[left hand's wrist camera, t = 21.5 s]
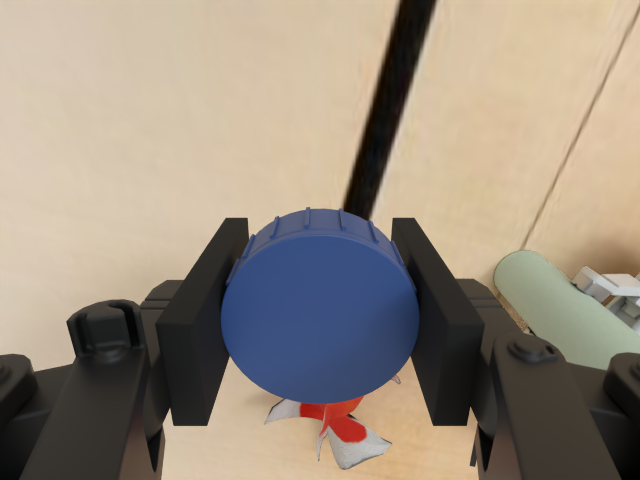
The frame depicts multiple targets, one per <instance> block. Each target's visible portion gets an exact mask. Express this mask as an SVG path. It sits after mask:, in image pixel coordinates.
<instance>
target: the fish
mask: <svg viewBox="0 0 640 480" xmlns="http://www.w3.org/2000/svg"><path fill="white" fill-rule="evenodd" d="M392 380H394V381H395V382H396V383H398V384H400V383H401V382H400V380H399V378H398V377H397V376H396V375H395V376H394V377H393V378H392ZM363 397H364V396H361V397H358V398H355V399H352V400H349V401H344V402H340V403H331V404H310V403H301V402H296V401H291V400H288V399H283V400H282V401H280V402H279V403H278V404H276V405H275V406H273V407H272V409H271V411H270V413H269V415H268V417H267V419H266V421H265V423H264V425H265V424H267V423H268V422H271V421H275V420H278V419H283V418H290V417H308V418H315V419H319V420H321V421H323V424H322V428H321V431H320V433H319V435H318V437H317V454H318V461H319V457H320V448H321V443H322V440H323V439H324V438H325V436H326V435H327V432H328V436H329V440H330V444H331V448H332V451H333V454H334V457H335V460H336V462H337V464H338V466H339V468H341V469H349V468H351V467H353V466H355V465H357V464H359V463H362V462H364V461H366V460H368V459H370V458H373V457H376V456H379V455H382V454H383V453H384V452H385V451H386V450H387V449H388V448H389V447H390V446H391V444H392V443H391V442H389V441H386V440H384V439H382V438H381V437H380V436H378V435H377V434H376V433H374V432H373V431H372V430H370V429H369V428H368V427H366V426H365V425H364V424H362V423H361V422H360V421H358V420H357V419H356V418H354V417H353V416H352V415H350V414H349V413H350V412H352V411H353V410H354V409H355V408H356V407H357V406H358V404H359V403H360V401H361V400H362V398H363Z"/></svg>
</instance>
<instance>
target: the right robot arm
mask: <svg viewBox="0 0 640 480" xmlns="http://www.w3.org/2000/svg"><path fill="white" fill-rule="evenodd" d="M570 282H571V283H573V284H574V285H576V286H577V288H579V289H580V290H581V291H583V292H584V293H586V294H587V295H589V296H592V297H593V298H594V299H596V300H597V301H598V302H600V303H603V302H604V301H605V300H606V299H607V298H608V297H609V296H610V295H617V296H616V297H615V298H614V299H613V300H612V301H611V302H610V303H609V304H608V305H607V306H606V307H605V308H607V309H608V310H609V311H610V312H612V313H613V314H614V315H615V316H616V317H618V318H619V319H620V320H621V321H623V322H624V323H625V324H626V325H628V326H629V327H630V328H631V329H632V330H634V331H635V332H636V333H637V334H639V335H640V273H639V274H638V275H637V276H636V277H635V278H634V277H632V276H631V275H629V274H602V275H599V274H598V273H596V272H595V271H593V270H591V269H590V268H588V267H587V266H584V267H583V268H582V269H581V270H580V271H579V272H578V273H577V275H576V276H575V277H574V278H573V279H572V280H571V281H570ZM523 333H526V334H530V335H535V333H534V332H533V331H532V330H531V329H530V327H526V328H525V330H524V331H523ZM535 336H536V335H535Z"/></svg>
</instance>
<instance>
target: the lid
mask: <svg viewBox="0 0 640 480" xmlns="http://www.w3.org/2000/svg"><path fill="white" fill-rule="evenodd" d="M403 265H404V262H403V260H402V258H401V256H400V254H399V251H398V249H397V247H396V245H395V243H394V241H393V240H392V241H391V242H390V241H389V239H388V238H387V237H386V236H385V235H384V234H383V233H382V232H381V231H380V230H379V229H378V228H376V227H375V226H374V225H373V222H372V221H370V220H369V221H368V222H367V221H366V220H364V219H362V218H360V217H358V216H355V215H352V214H350V213H347V212H343V209H339V211H338V210H331V209H310V207H307V208H306V210H302V211H298V212H294V213H290V214H288V215H285V216H283V217H280V218H279V216H277V217H275V220H274V221H273V222H271V223H270V224H268V225H267V226H265V227H264V228H263V229H262V230H260V231H259V232H258V233H257V234H256V235H254V234H253V235H252V236H251V237H250V239H249V242H248V244H247V246H246V248H245V250H244V252H243V254H242V255H241V258H240V259H238V258H237V260H236V262H235V264H234V266H233V268H232V271H231V273H230V275H229V277H228V279H227V281H226V284H225V285H227V286H228V287H227V289H226V292H225V295H224V297H223V301H222V306H221V313H220V315H221V328H222V336H223V340H224V343H225V346H226V348H227V350H228V353H229V355H230V356H231V358H232V359H233V361H234V363H235V364H236V365H237V367H238V368H239V369H240V370H241V371H242V373H243V374H245V375H246V376H247V377H248V378H249V379H250V380H251V381H252V382H254V383H255V384H257V385H258V386H259V387H261V388H263V389H264V390H266V391H268V392H270V393H272V394H274V395H277V396H279V397H282V398H285V399H288V400H291V401H296V402H301V403H310V404H331V403H340V402H344V401H349V400H352V399H355V398H358V397H361V396H364V395H366V394H368V393H370V392H373V391H374V390H376V389H378V388H379V387H381V386H383V385H384V384H385V383H386V382H388V381H389V380H390V379H392V378H393V377H394V376H395V375H396V374H397V373H398V372H399V371H400V369H401V368H402V367H403V366H404V364H405V363H406V362H407V360H408V358H409V357H410V355H411V353H412V351H413V349H414V346H415V344H416V341H417V337H418V330H419V321H420V311H419V305H418V300H417V296H416V293H417V290H416V287H415V285H414V283H413V281H412V279H411V276H410V274H409V272H408V270H407V268H406V266H403Z"/></svg>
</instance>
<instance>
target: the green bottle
mask: <svg viewBox="0 0 640 480" xmlns="http://www.w3.org/2000/svg"><path fill="white" fill-rule="evenodd" d="M570 281H571V279H570V278H568V277H567V276H566V275H565V274H564V273H562V272H561V271H560V270H559V269H557V268H556V267H555V266H554V265H552V264H551V263H550V262H549V261H548V260H546V259H545V258H544V257H543V256H541V255H540V254H539V253H537V252H534V251H530V250H522V251H517V252H514V253H512V254H510V255H508V256H507V257H505V258H504V259H503V260H502V261H501V262H500V263H499V265H498V266H497V268H496V270H495V274H494V282H495V285H496V287H497V289H498V290H499V291H500V293H501V294H502V295H503V296H504V297H505V299H506V300H507V301H508V302H509V303H510V305H511V306H512V307H513V308H514V309H515V311H516V312H517V313H518V314H519V315H520V317H521V318H522V319H523V320H524V321H525V323H526V324H527V325H528V326H529V327H530V329H531V330H532V331H533V332H534V333H535V335H536V336H537V337H539V338H542V339H544V340H546V341H548V342H550V343H551V344H552V345H554V346H555V347H557V348H558V349H559V350H560V352H561V353H562V354H563V356H564V357H565V359H566V362H570V363H573V364H578V365H583V366H588V367H593V368H598V369H603V370H607V368H608V365H609V362H610V359H611V358H612V357H613V356H614V355H616V354H617V353H625V352H632V353H640V335H639V334H637V333H636V332H635V331H634V330H632V329H631V328H630V327H629V326H628V325H626V324H625V323H624V322H623V321H621V320H620V319H619V318H618V317H616V316H615V315H614V314H613V313H612V312H610V311H609V310H608V309H607V308H605V307H604V306H603V305H602V304H600V303H599V302H598V301H597V300H596V299H594V298H593V297H592V296H589V295H587V294H586V293H584V292H583V291H581V290H580V289H579V288H577V286H576V285H574V284H573V283H571V282H570Z"/></svg>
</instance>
